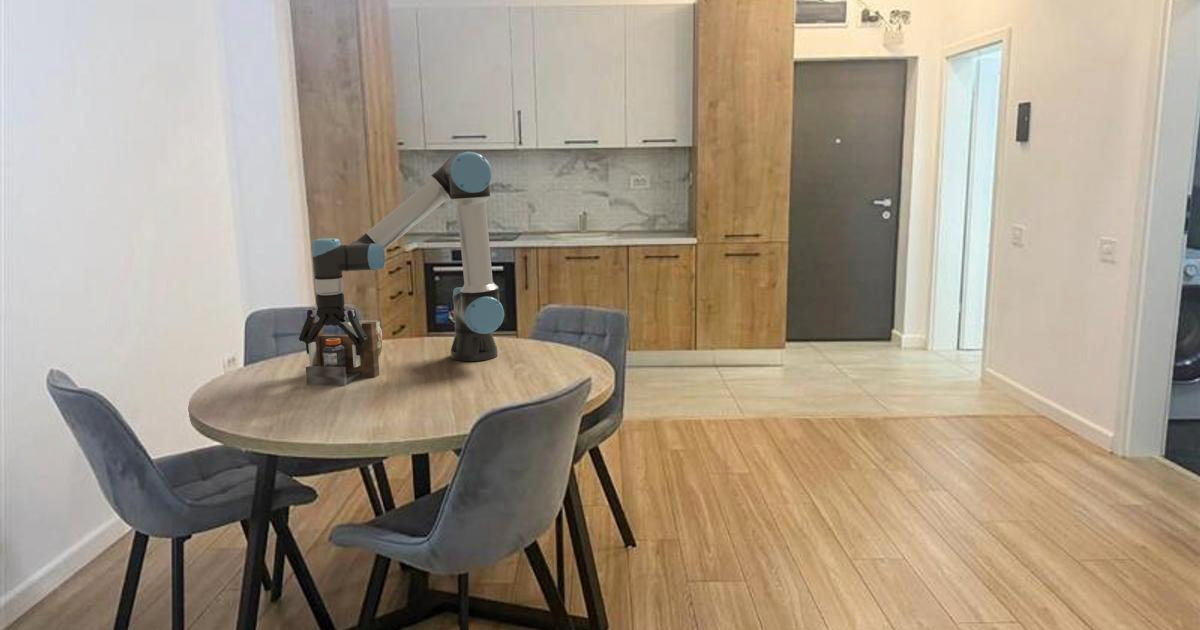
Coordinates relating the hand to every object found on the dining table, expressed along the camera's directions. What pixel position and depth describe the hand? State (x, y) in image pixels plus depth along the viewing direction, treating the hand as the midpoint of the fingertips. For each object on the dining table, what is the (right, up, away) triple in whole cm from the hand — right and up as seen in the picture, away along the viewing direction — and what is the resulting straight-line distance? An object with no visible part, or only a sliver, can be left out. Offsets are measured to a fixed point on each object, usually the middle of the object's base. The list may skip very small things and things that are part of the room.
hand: (335, 365), depth 226 cm
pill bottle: (0, -4, +1) cm, 4 cm away
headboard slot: (0, -4, +1) cm, 4 cm away
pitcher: (+3, -1, +21) cm, 21 cm away
